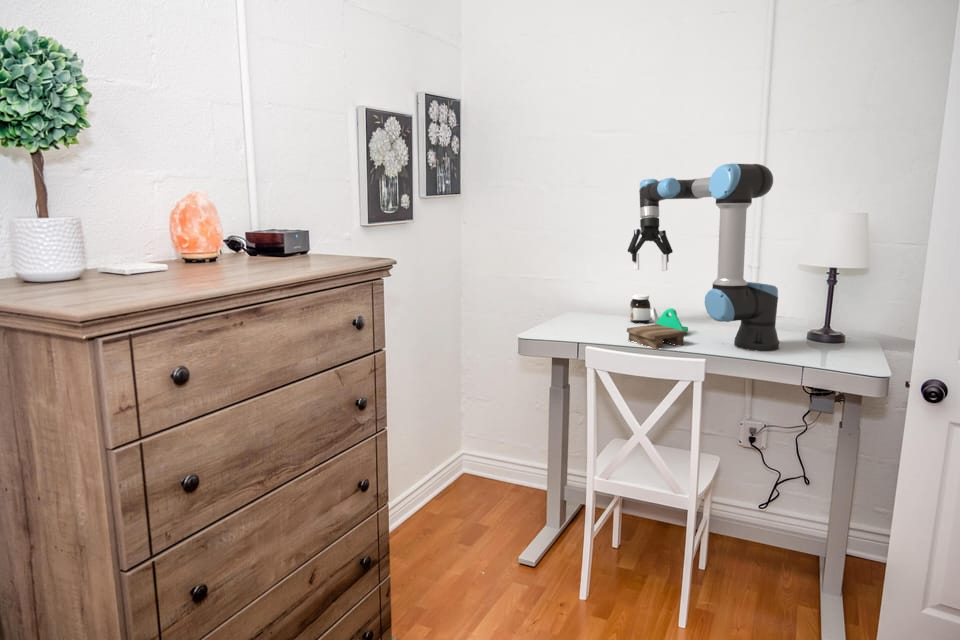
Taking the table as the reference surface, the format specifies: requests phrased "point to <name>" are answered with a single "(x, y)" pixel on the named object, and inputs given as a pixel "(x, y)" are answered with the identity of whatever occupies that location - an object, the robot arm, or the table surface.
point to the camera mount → (671, 320)
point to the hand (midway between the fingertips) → (650, 270)
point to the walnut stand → (656, 335)
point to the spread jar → (642, 309)
